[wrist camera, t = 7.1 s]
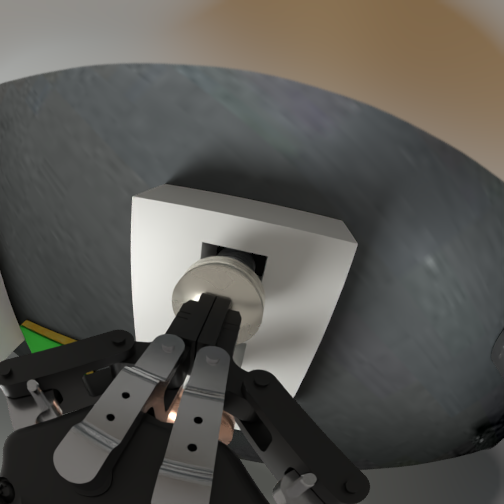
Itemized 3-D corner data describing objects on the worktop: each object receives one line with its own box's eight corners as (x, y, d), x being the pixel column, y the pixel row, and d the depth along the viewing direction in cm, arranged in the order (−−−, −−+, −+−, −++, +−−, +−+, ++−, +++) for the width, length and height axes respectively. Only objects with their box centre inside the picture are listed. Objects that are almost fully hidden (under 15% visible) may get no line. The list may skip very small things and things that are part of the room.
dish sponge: (27, 317, 31) (18, 325, 29) (81, 339, 30) (72, 350, 28) (41, 350, 34) (34, 358, 32) (96, 374, 33) (89, 385, 31)
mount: (342, 220, 20) (358, 243, 15) (276, 401, 28) (272, 435, 24) (164, 183, 20) (132, 196, 16) (161, 372, 29) (145, 403, 24)
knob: (277, 240, 18) (272, 281, 12) (262, 302, 19) (253, 354, 14) (205, 225, 18) (173, 258, 13) (198, 287, 20) (170, 333, 15)
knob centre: (251, 355, 17) (237, 422, 12) (239, 395, 19) (227, 453, 14) (182, 337, 17) (151, 397, 12) (181, 379, 19) (158, 434, 14)
